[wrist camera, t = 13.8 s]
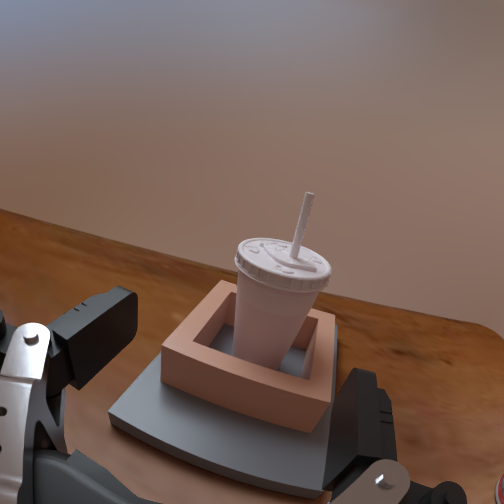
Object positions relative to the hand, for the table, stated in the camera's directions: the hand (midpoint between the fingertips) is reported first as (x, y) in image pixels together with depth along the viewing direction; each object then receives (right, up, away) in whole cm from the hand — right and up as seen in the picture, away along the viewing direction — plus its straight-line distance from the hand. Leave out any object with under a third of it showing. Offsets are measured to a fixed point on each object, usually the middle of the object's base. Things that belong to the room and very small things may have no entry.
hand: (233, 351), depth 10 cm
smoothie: (+1, -6, +13) cm, 14 cm away
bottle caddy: (0, -7, +14) cm, 15 cm away
